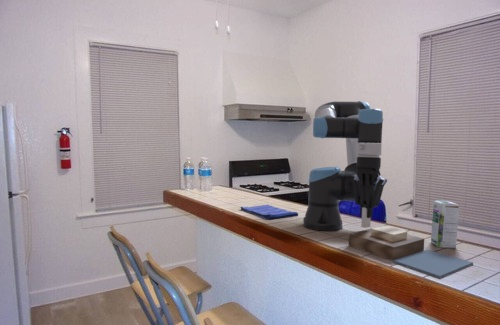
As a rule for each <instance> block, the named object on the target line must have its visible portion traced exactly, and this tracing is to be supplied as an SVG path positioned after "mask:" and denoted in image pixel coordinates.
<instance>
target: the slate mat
mask: <svg viewBox="0 0 500 325" xmlns="http://www.w3.org/2000/svg"><path fill="white" fill-rule="evenodd" d="M392 263H395V264H397V265H400V266H403V267H405V268H409V269H411V270H415V271H416V272H421V273H423V274H427V275H430V276H432V277H435V278H438V279H441V278H445V277H446V276H449V275H451V274H453V273H456V272H458V271H460V270H464V269H465V268H469V267H470V266H473V265H474V262H473V261H469V260H466V259H463V258H460V257H459V258H458V257H455V256H452V255H447V254H444V253H442V252H438V251H434V250H431V249H424V251H420V252H417V253H414V254H411V255H408V256H404V257H401V258H398V259H395V260H393V261H392Z"/></svg>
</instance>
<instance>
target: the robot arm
mask: <svg viewBox="0 0 500 325" xmlns="http://www.w3.org/2000/svg"><path fill="white" fill-rule="evenodd" d="M383 113H384V111H383V110H382V109H379V108H371V105H370V104H369V103H368V102H367V101H360V100H359V101H331V102H330V101H329V102H326V103H323V104H321V105H320V106H319V107H317V109H316V110H315V111H314V118H313V121H312V124H313V125H312V136H313V137H314V138H318V139H319V138H320V139H345V144H346V146H345V147H346V162H347V164H346V167H344V170H341V168H340V167H339V166H328V167H327V166H326V167H325V166H324V167H319V168H318V167H317V168H313V169H312V170H310V172H309V176H308V177H309V179H308V183H309V184H308V203H307V205H308V206H307V209H306V211H305V216H304V217H303V220H302V223H303V224H302V225H303V227H305V228H307V229H312V230H314V231H324V232H325V231H326V232H329V231H330V232H331V231H334V232H335V231H339V230H342V228H343V220H342V217H341V212H340V209H339V205H340V204H339V202H340V201H341V202H342V201H345V202H355V204H356V205H358V206H359V209H360V214H359V215H360V217H361V223H360V224H361V227H362V228H365V229H367V228H370V227H371V221H372V220H371V219H372V218H373V212H374V208H378V207H379V206H380V202H381V198H382V194H383V190H384V187H385V185H386V184H387V182H388V179H387V178H384V177H382V176H381V171H380V169H381V165H382V164H381V163H382V161H381V160H382V158H381V157H380V156H382V140H383V136H382V135H383V122H384V117H383V116H384V115H383Z"/></svg>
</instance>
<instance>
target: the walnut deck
mask: <svg viewBox="0 0 500 325" xmlns="http://www.w3.org/2000/svg"><path fill="white" fill-rule="evenodd" d="M371 229H372V228H368V229H365V230H359V231H355V232H349V233H348V247H350V248H355V249H358V250H360V251H363V252H366V253H369V254H372V255H374V256H377V257H381V258H384V259H386V260H389V261H392V262H393V260H395V259H398V258H401V257H404V256H408V255H411V254H414V253H417V252H420V251H424V250H425V238H424V237H419V236H415V235H411V234H408V233H407V239H403V240H399V241H396V242H392V241H389V240H385V239H382V238H378V237H375V236H371Z"/></svg>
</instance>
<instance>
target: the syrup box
mask: <svg viewBox="0 0 500 325" xmlns="http://www.w3.org/2000/svg"><path fill="white" fill-rule="evenodd" d="M459 215H460V204H458V203H455V202H452V201H449V200H434V201H433V208H432V221H431V222H432V223H431V231H430V232H431V234H430V235H431V236H430V243H431V244H433V245H435V246H436V247H438V248H445V249H446V248H448V249H451V248H452V249H453V248H454V249H456V248H457V241H458V240H457V239H458V227H459V226H458V224H459V217H460V216H459Z"/></svg>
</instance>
